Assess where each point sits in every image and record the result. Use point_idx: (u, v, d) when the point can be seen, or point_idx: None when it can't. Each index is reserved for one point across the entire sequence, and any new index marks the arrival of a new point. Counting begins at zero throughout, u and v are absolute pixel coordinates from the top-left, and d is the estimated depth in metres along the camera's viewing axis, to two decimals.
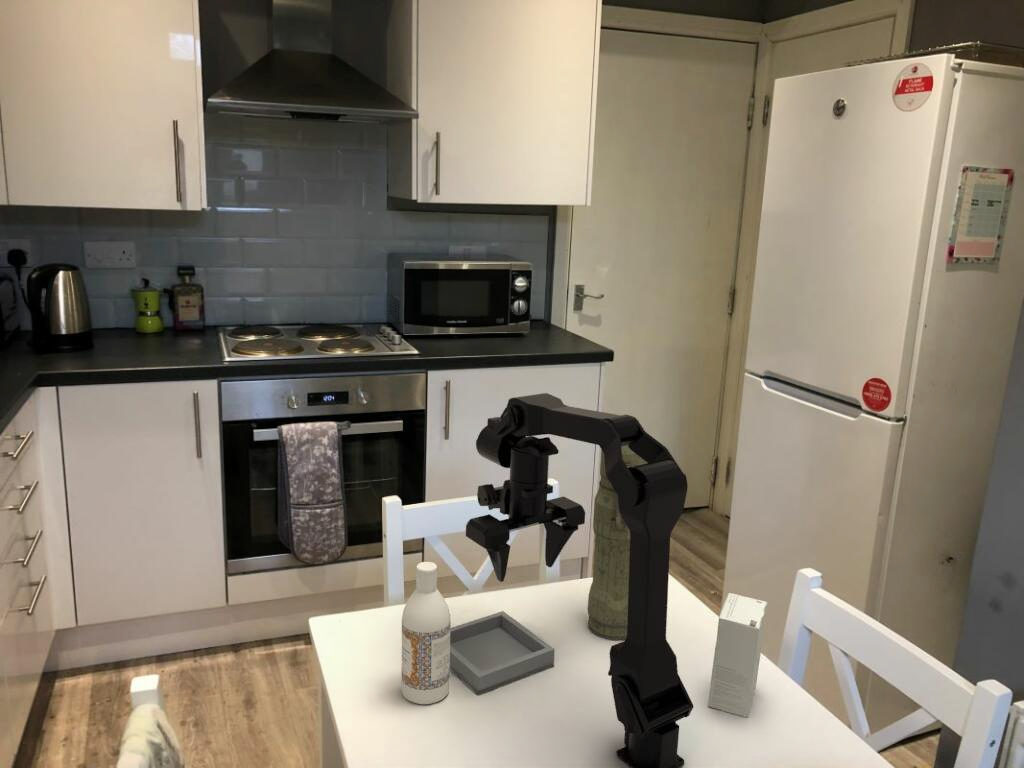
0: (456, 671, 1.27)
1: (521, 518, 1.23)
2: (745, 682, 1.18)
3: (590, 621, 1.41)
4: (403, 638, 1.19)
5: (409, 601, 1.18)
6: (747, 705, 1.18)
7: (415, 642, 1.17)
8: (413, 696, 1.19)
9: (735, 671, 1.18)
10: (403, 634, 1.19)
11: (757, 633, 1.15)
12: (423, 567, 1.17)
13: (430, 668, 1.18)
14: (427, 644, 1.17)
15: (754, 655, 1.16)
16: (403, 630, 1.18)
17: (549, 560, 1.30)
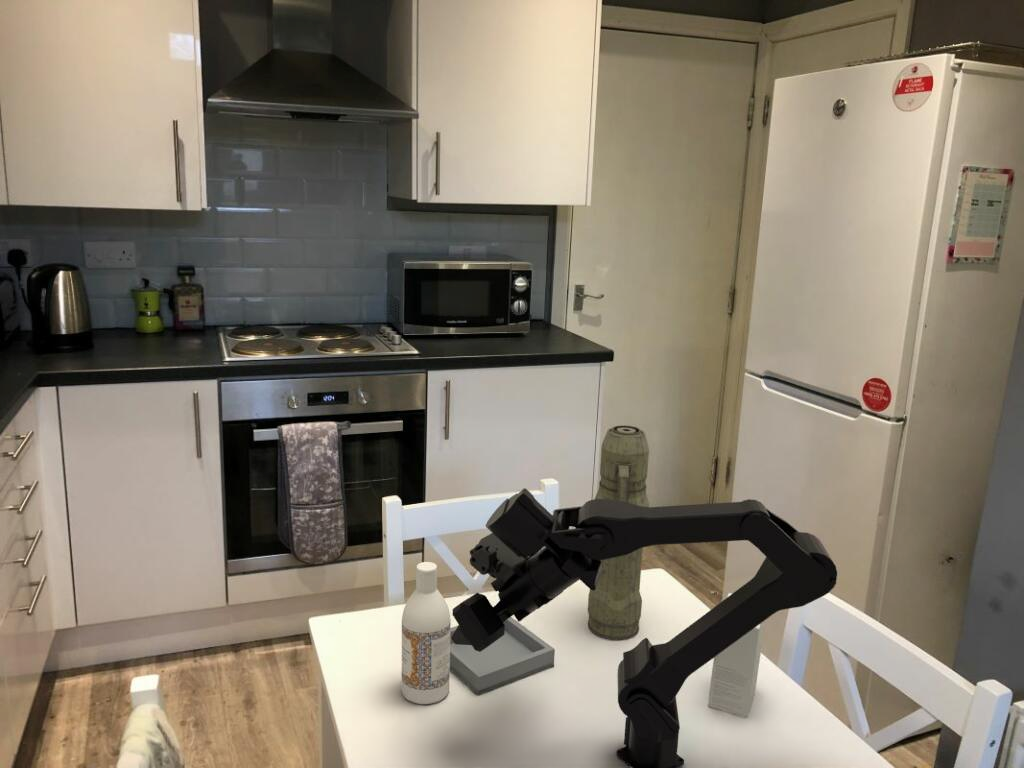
0: (456, 671, 1.27)
1: (516, 612, 1.07)
2: (744, 682, 1.18)
3: (590, 621, 1.41)
4: (403, 638, 1.19)
5: (409, 601, 1.18)
6: (747, 705, 1.18)
7: (415, 642, 1.17)
8: (413, 696, 1.19)
9: (735, 671, 1.18)
10: (403, 634, 1.19)
11: (757, 633, 1.15)
12: (423, 567, 1.17)
13: (430, 668, 1.18)
14: (427, 644, 1.17)
15: (754, 655, 1.16)
16: (403, 630, 1.18)
17: (499, 612, 1.18)
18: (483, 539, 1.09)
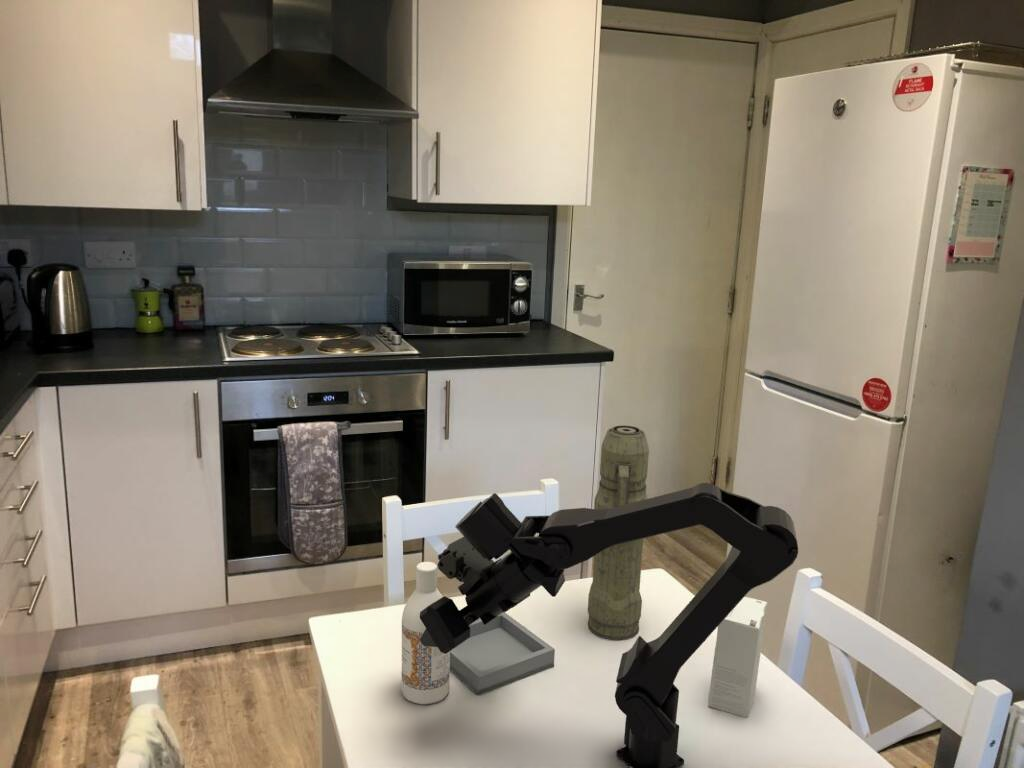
0: (456, 671, 1.27)
1: (482, 615, 1.10)
2: (745, 682, 1.18)
3: (590, 621, 1.41)
4: (403, 638, 1.19)
5: (409, 601, 1.18)
6: (747, 705, 1.18)
7: (415, 642, 1.17)
8: (413, 696, 1.19)
9: (735, 671, 1.18)
10: (403, 634, 1.19)
11: (757, 633, 1.15)
12: (423, 567, 1.17)
13: (430, 668, 1.18)
14: None
15: (754, 655, 1.16)
16: (403, 630, 1.18)
17: (468, 614, 1.21)
18: (451, 545, 1.13)
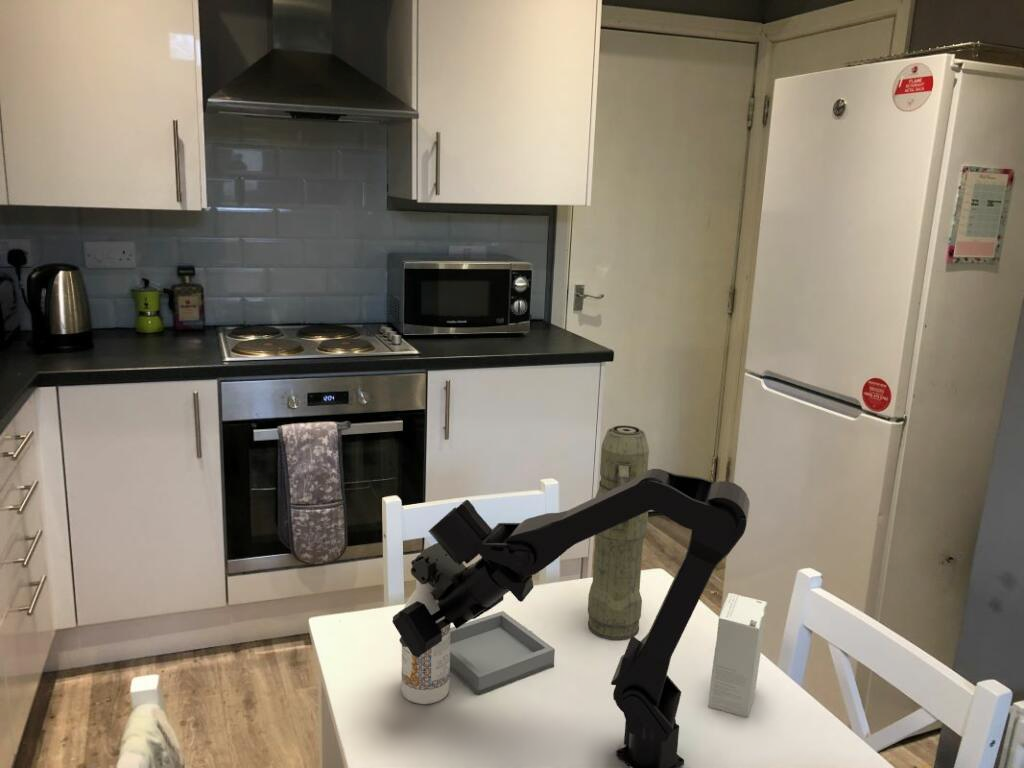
0: (456, 671, 1.27)
1: (454, 619, 1.13)
2: (745, 682, 1.18)
3: (590, 621, 1.41)
4: None
5: (409, 601, 1.18)
6: (747, 705, 1.18)
7: None
8: (413, 696, 1.19)
9: (735, 671, 1.18)
10: None
11: (757, 633, 1.15)
12: None
13: (430, 668, 1.18)
14: None
15: (754, 655, 1.16)
16: None
17: None
18: (424, 551, 1.16)
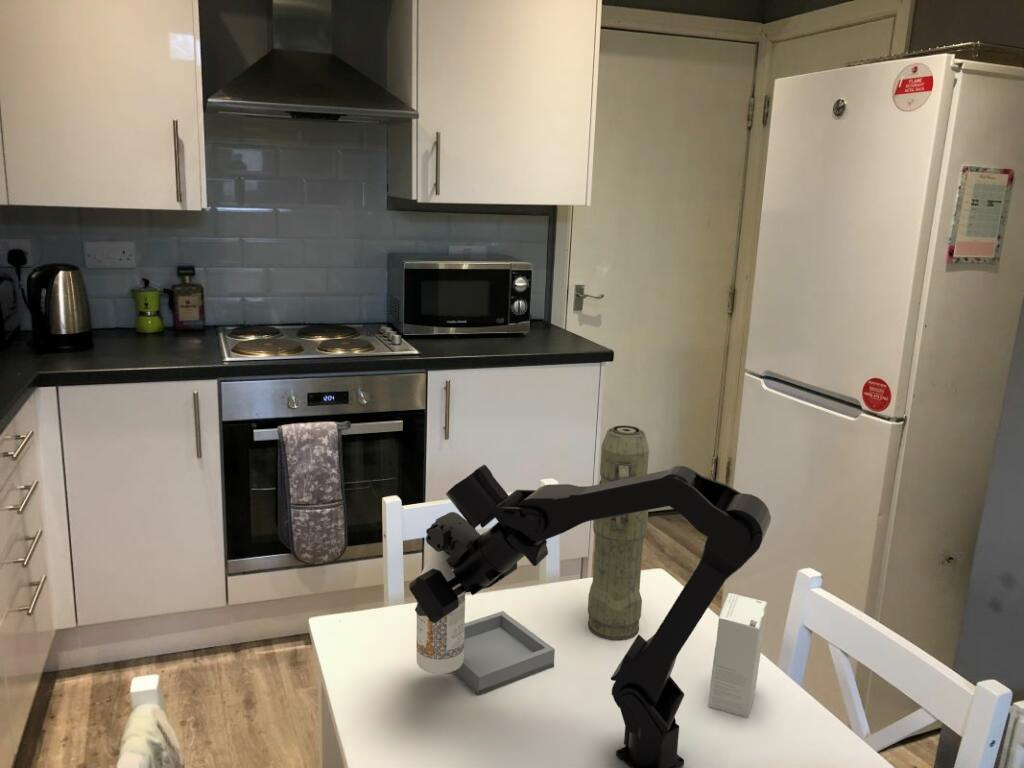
0: (456, 671, 1.27)
1: (470, 586, 1.14)
2: (745, 682, 1.18)
3: (590, 621, 1.41)
4: None
5: (424, 570, 1.19)
6: (747, 705, 1.18)
7: None
8: (429, 665, 1.20)
9: (735, 671, 1.18)
10: None
11: (757, 633, 1.15)
12: None
13: (445, 637, 1.19)
14: None
15: (754, 655, 1.16)
16: None
17: None
18: (438, 519, 1.16)
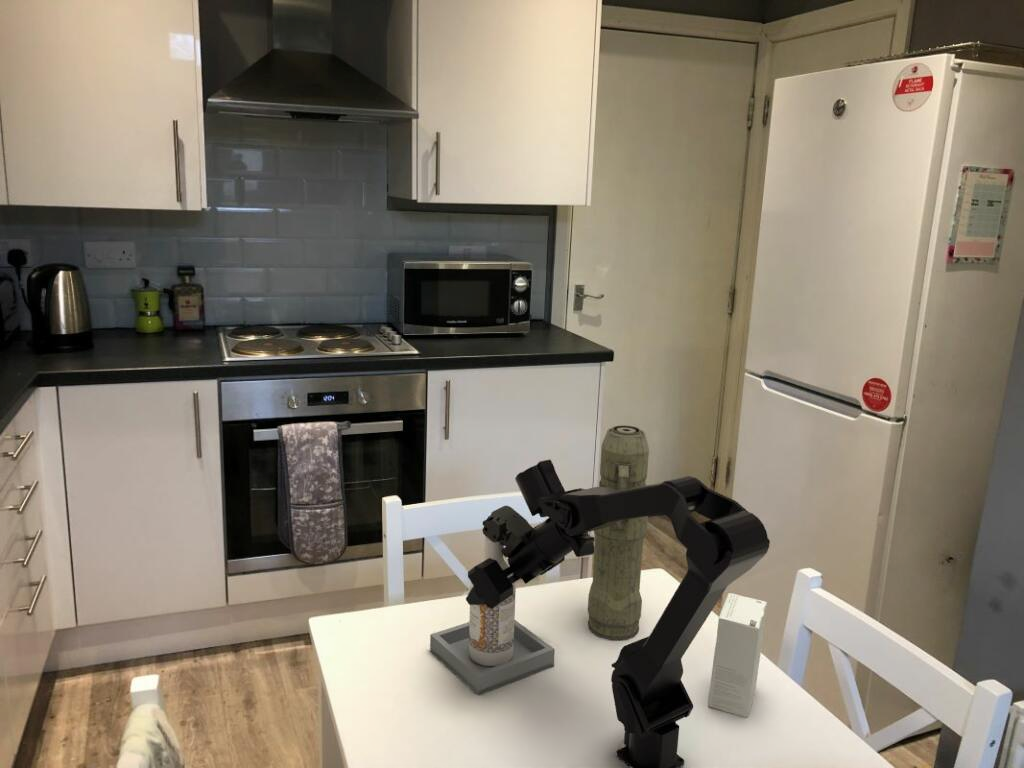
0: (456, 671, 1.27)
1: (523, 575, 1.22)
2: (744, 682, 1.18)
3: (590, 621, 1.41)
4: None
5: None
6: (747, 705, 1.18)
7: (483, 607, 1.26)
8: (481, 658, 1.28)
9: (735, 671, 1.18)
10: None
11: (757, 633, 1.15)
12: None
13: (497, 632, 1.26)
14: (495, 610, 1.25)
15: (754, 655, 1.16)
16: None
17: None
18: (494, 512, 1.24)
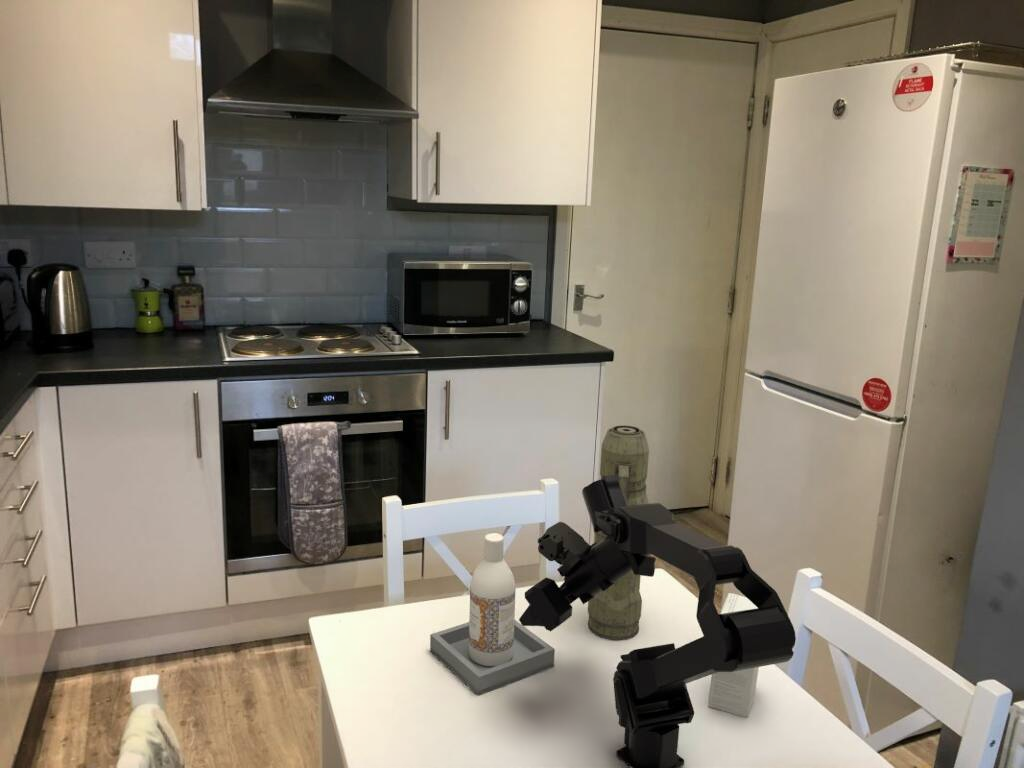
0: (456, 671, 1.27)
1: (581, 595, 1.16)
2: (744, 682, 1.18)
3: (590, 621, 1.41)
4: (472, 604, 1.27)
5: (477, 570, 1.27)
6: (747, 705, 1.18)
7: (483, 607, 1.26)
8: (481, 658, 1.28)
9: (735, 671, 1.18)
10: (472, 601, 1.27)
11: None
12: (491, 538, 1.26)
13: (497, 632, 1.26)
14: (495, 609, 1.25)
15: None
16: (472, 597, 1.27)
17: None
18: (549, 529, 1.19)
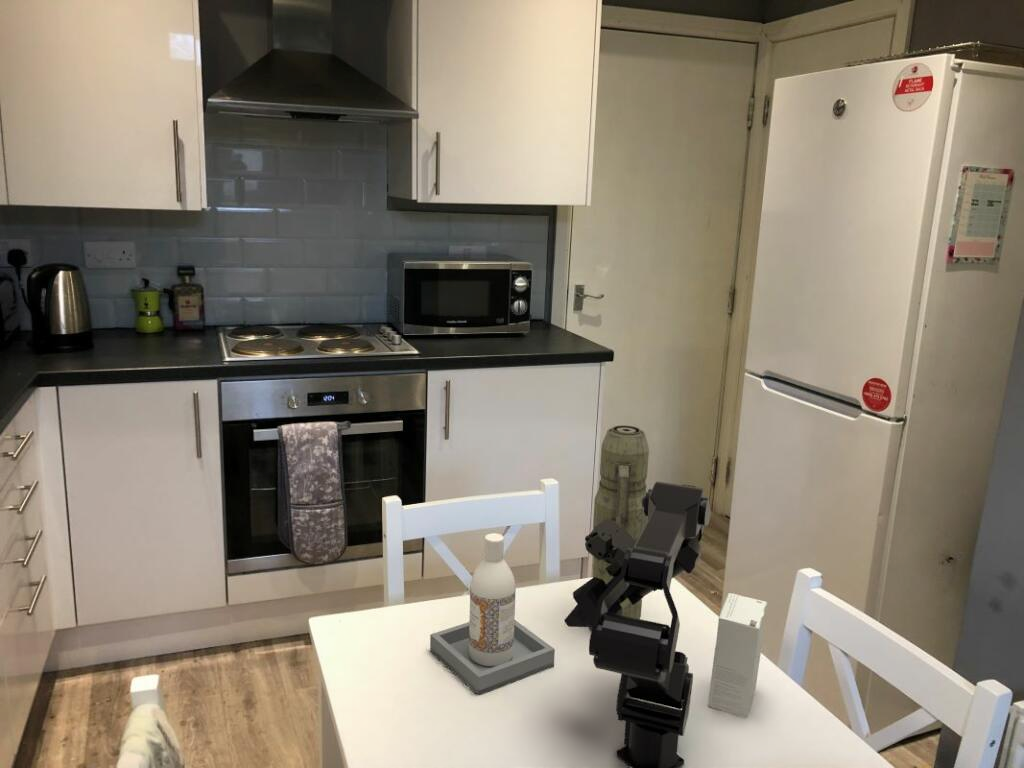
0: (456, 671, 1.27)
1: (631, 595, 1.12)
2: (745, 682, 1.18)
3: None
4: (472, 604, 1.27)
5: (478, 570, 1.27)
6: (747, 705, 1.18)
7: (483, 607, 1.26)
8: (481, 658, 1.28)
9: (735, 671, 1.18)
10: (472, 601, 1.27)
11: (757, 633, 1.15)
12: (491, 538, 1.26)
13: (497, 632, 1.26)
14: (495, 610, 1.25)
15: (754, 655, 1.16)
16: (472, 597, 1.27)
17: None
18: (596, 527, 1.15)
